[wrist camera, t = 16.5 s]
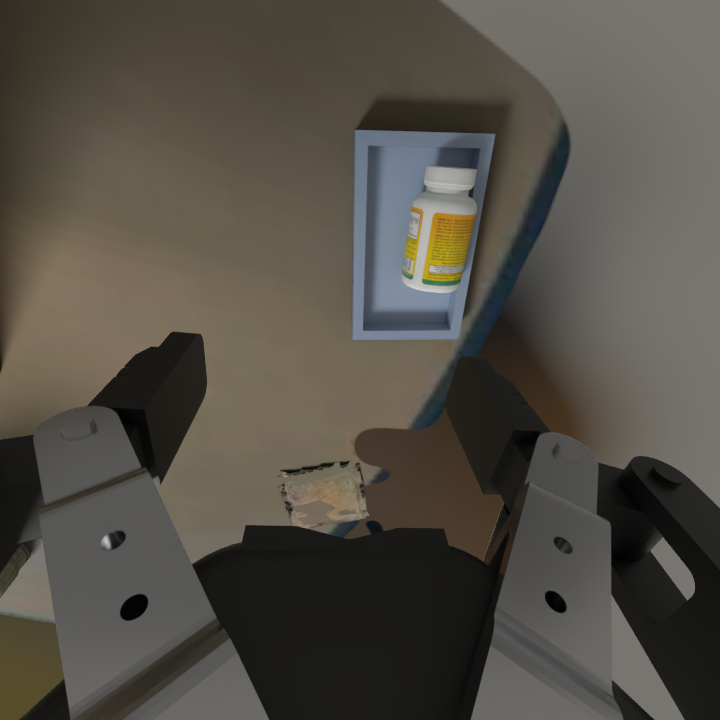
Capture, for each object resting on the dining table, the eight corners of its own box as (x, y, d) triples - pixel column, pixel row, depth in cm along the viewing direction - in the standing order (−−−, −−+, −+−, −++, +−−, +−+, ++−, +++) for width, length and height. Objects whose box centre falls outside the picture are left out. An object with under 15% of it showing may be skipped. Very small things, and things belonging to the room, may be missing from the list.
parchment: (359, 456, 48) (359, 461, 48) (370, 515, 55) (371, 521, 54) (270, 469, 49) (269, 475, 48) (292, 527, 55) (292, 533, 54)
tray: (451, 328, 39) (458, 339, 37) (351, 329, 38) (352, 339, 36) (483, 135, 30) (495, 133, 28) (354, 131, 29) (355, 129, 27)
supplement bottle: (389, 282, 32) (404, 163, 28) (419, 272, 36) (436, 165, 31) (443, 299, 30) (469, 168, 25) (469, 285, 33) (495, 170, 29)
